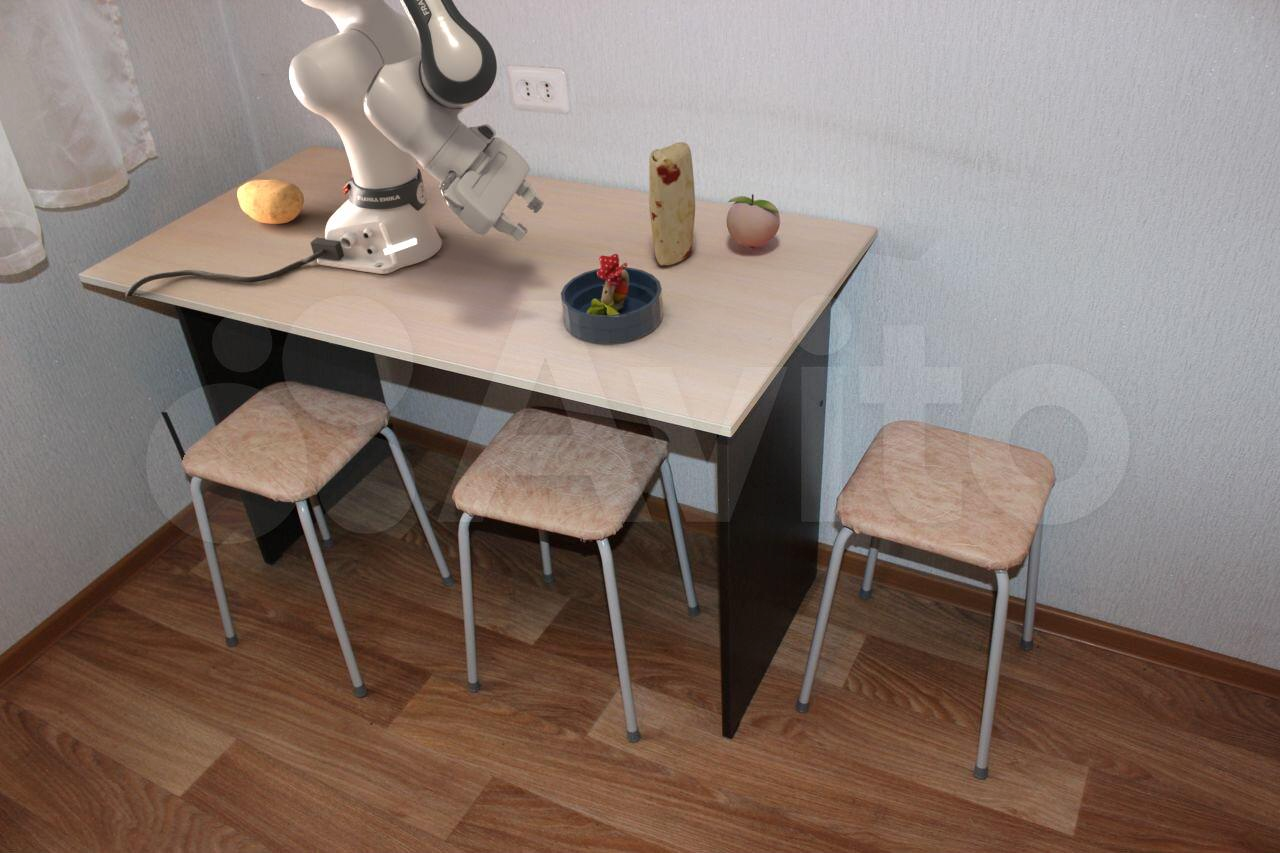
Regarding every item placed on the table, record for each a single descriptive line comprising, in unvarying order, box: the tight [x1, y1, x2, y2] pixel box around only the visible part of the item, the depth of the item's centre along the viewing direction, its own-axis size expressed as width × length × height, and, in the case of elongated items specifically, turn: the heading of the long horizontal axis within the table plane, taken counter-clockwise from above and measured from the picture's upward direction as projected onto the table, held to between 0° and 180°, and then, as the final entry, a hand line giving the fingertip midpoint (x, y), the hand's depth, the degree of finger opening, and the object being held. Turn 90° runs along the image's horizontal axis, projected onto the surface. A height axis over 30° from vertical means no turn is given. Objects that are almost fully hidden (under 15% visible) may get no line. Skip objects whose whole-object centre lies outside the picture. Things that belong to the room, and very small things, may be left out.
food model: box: [648, 141, 696, 266], centre depth 174 cm, size 10×7×20 cm
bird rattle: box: [586, 253, 629, 315], centre depth 162 cm, size 6×11×9 cm
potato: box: [236, 179, 305, 225], centre depth 200 cm, size 10×14×8 cm
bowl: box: [560, 266, 664, 344], centre depth 163 cm, size 16×16×5 cm
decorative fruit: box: [726, 193, 781, 249], centre depth 177 cm, size 9×8×10 cm
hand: (532, 222), depth 157 cm, fingers open, 8 cm apart
